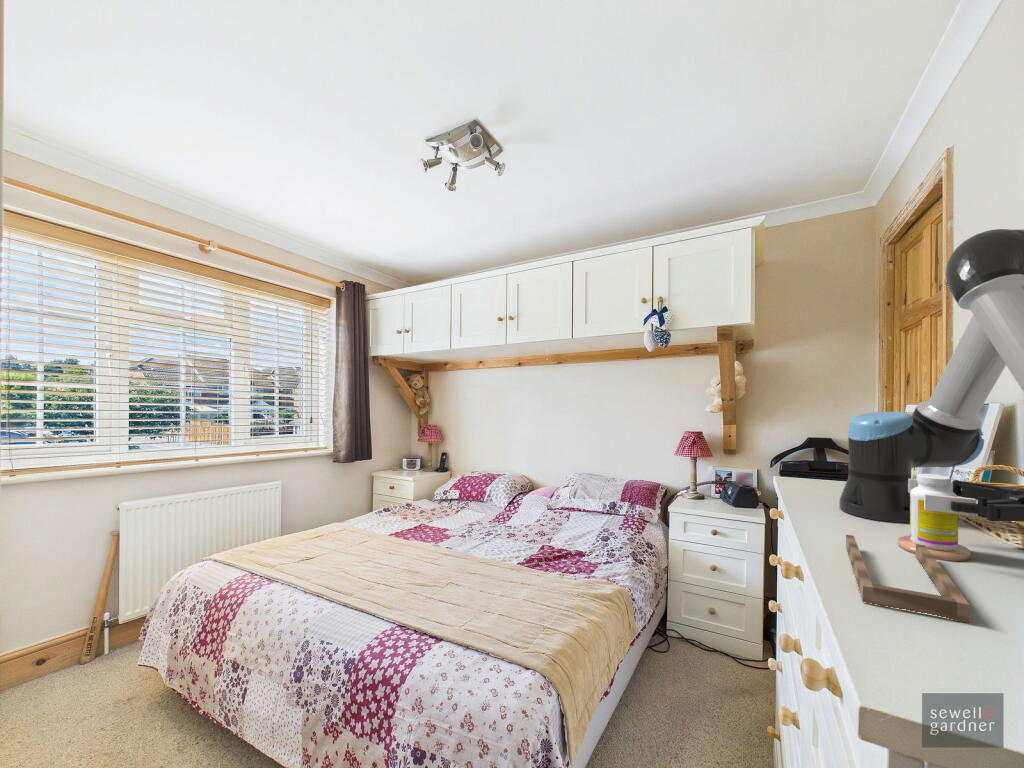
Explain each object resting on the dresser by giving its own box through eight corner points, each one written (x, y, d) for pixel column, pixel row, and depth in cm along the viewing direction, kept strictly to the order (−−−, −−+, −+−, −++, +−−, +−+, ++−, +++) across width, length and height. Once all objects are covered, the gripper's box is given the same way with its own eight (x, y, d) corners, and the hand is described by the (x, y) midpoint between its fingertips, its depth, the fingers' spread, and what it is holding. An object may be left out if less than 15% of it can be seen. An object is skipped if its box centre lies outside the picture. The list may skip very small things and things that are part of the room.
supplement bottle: (967, 553, 84) (968, 480, 83) (924, 550, 85) (924, 479, 85) (941, 539, 90) (942, 472, 90) (902, 538, 92) (902, 472, 91)
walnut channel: (846, 547, 90) (846, 534, 90) (924, 559, 84) (924, 545, 84) (862, 602, 68) (862, 585, 68) (969, 623, 63) (969, 604, 63)
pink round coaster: (893, 537, 95) (893, 532, 95) (960, 546, 90) (960, 541, 90) (903, 554, 86) (903, 549, 86) (978, 565, 81) (978, 559, 81)
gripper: (1129, 557, 67) (932, 532, 78) (1048, 512, 89) (903, 497, 99) (1130, 504, 67) (933, 487, 78) (1049, 472, 88) (903, 462, 99)
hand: (915, 493), depth 89 cm, fingers open, 13 cm apart
